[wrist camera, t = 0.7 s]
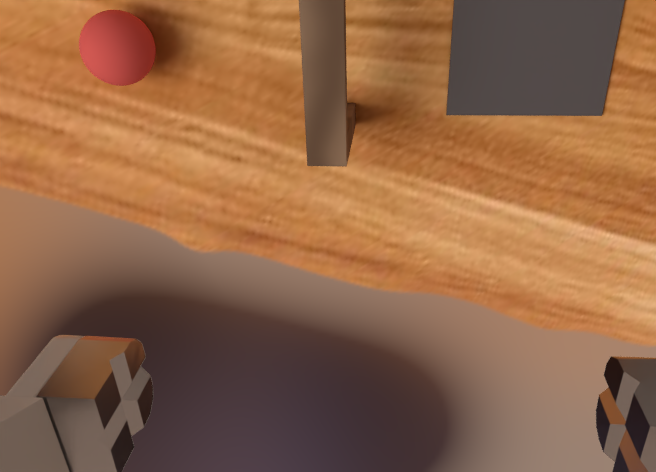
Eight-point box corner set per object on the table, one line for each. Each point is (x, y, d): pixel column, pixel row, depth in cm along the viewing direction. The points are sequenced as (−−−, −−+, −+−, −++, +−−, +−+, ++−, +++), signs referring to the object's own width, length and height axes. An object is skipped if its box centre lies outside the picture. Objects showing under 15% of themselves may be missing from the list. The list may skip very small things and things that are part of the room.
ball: (92, 5, 51) (56, 17, 46) (159, 4, 50) (131, 15, 45) (107, 75, 54) (75, 94, 49) (170, 75, 53) (145, 94, 48)
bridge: (322, 124, 54) (307, 165, 46) (315, -60, 47) (296, -52, 38) (355, 124, 54) (346, 166, 45) (353, -62, 46) (342, -53, 38)
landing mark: (457, -50, 46) (457, -50, 46) (634, -55, 44) (635, -55, 44) (446, 114, 52) (446, 115, 52) (601, 114, 51) (601, 115, 51)
